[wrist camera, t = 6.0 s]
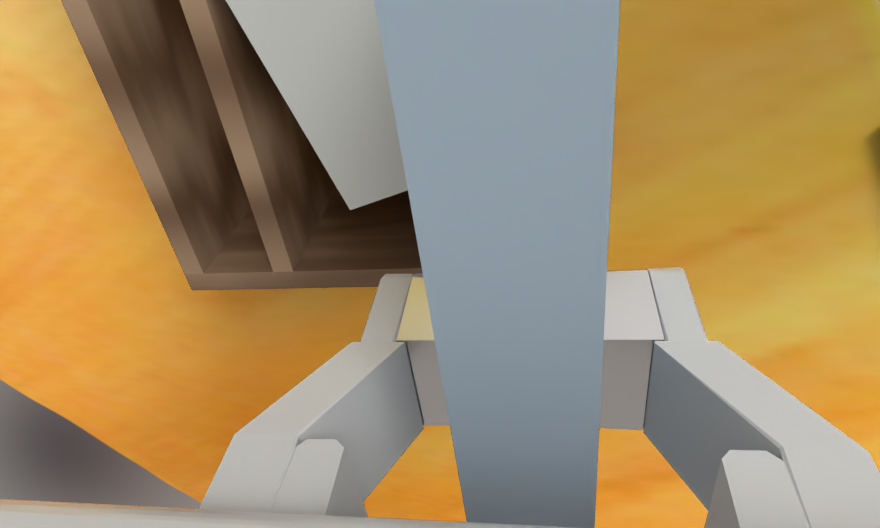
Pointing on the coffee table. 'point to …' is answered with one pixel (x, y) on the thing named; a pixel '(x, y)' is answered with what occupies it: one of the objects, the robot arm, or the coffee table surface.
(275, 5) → the offcut top
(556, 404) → the sheet
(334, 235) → the rack
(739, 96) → the coffee table surface
